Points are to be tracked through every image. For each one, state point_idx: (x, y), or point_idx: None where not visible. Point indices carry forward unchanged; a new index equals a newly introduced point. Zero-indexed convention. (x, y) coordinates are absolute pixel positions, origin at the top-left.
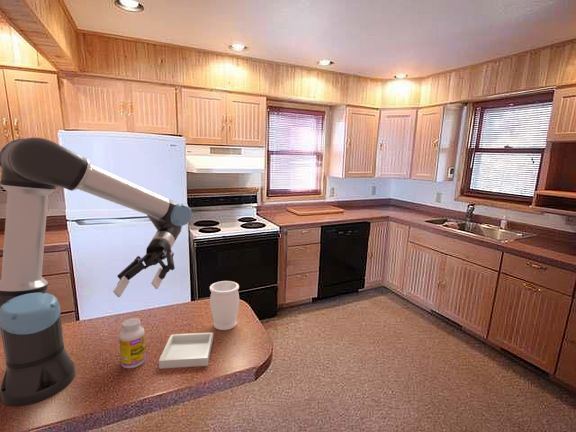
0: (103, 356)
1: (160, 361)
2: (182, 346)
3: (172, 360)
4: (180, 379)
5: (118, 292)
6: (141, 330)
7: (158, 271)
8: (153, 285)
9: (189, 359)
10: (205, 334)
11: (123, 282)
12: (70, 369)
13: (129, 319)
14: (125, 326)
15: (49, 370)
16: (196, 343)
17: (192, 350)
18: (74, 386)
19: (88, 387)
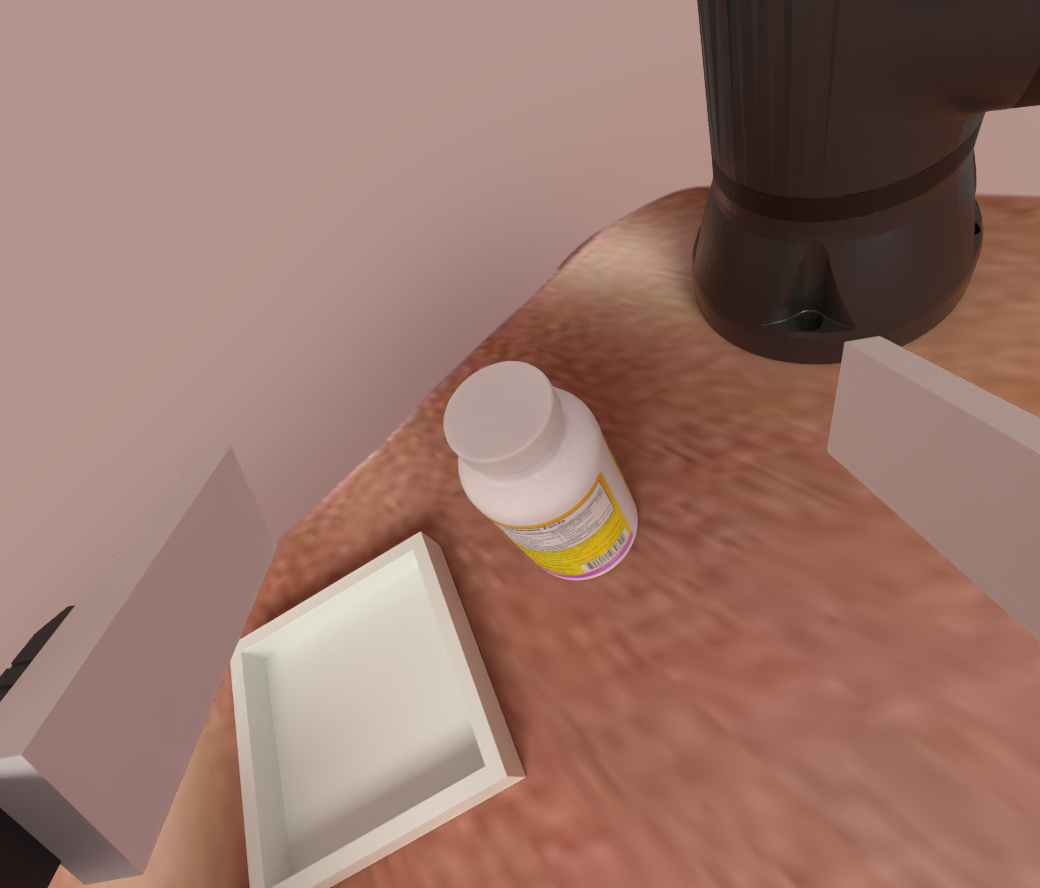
0: (780, 484)
1: (416, 537)
2: (419, 736)
3: (367, 564)
4: (330, 537)
5: (851, 410)
6: (462, 469)
7: (70, 642)
8: (241, 488)
9: (300, 604)
10: (296, 875)
11: (1015, 502)
12: (725, 302)
13: (532, 419)
14: (493, 365)
15: (707, 201)
16: (357, 800)
17: (351, 722)
18: (675, 329)
19: (619, 353)
